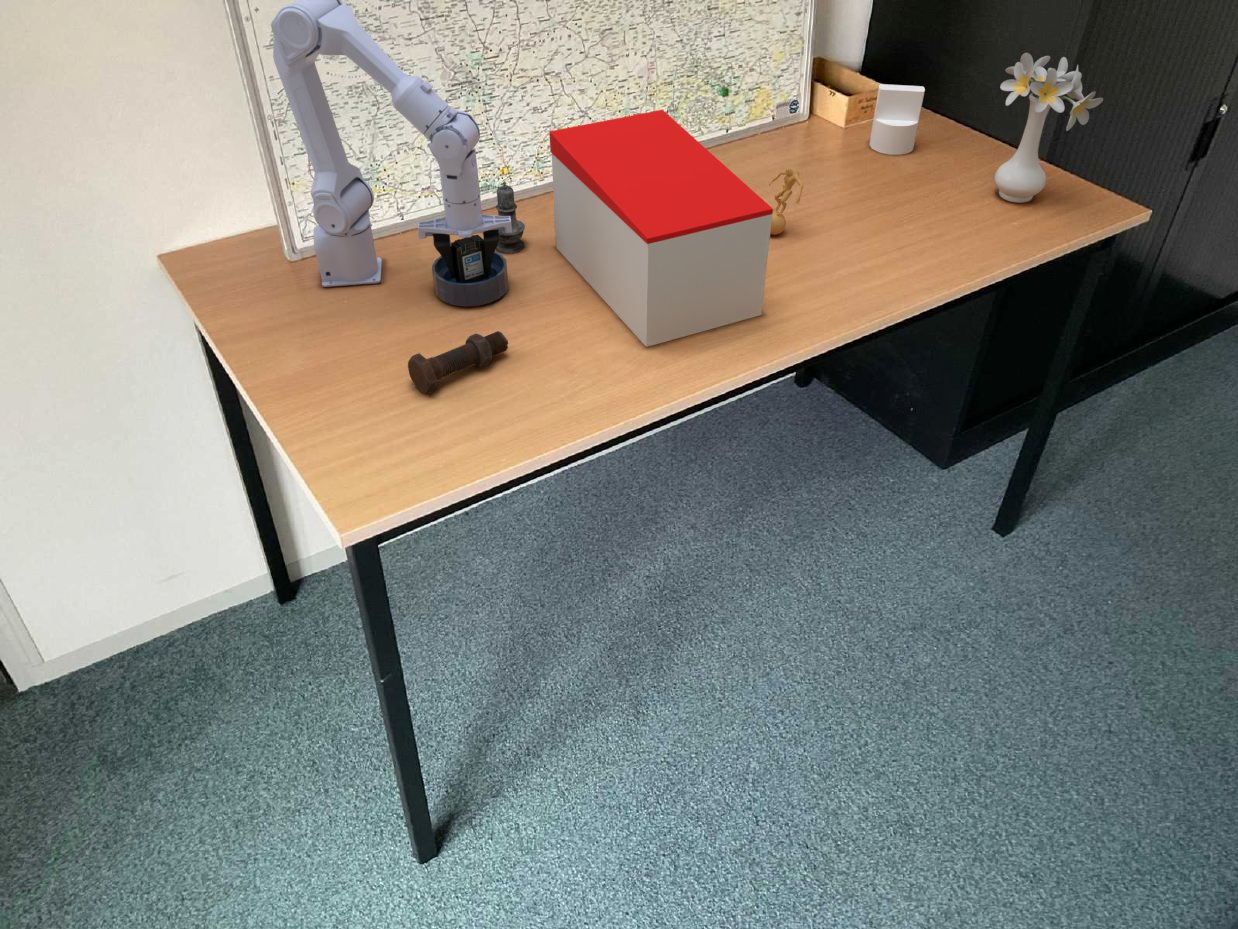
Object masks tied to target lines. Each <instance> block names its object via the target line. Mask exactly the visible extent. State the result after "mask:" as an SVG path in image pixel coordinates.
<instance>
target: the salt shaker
mask: <svg viewBox="0 0 1238 929" xmlns="http://www.w3.org/2000/svg"><path fill="white" fill-rule="evenodd" d="M496 199H497V200H496V201H497V204H496V205H495V209H496V210H497V216H510V217H511V226H512V233H505V231H499V243H498V246H497V248H496V250H495V251H497V252H500V253H503V254H504V253H505V254H513V253H517V252H520V251H522V250H523V249H524V248H525V244H526V243H525V242H524V241H523V240H522V238H523V236H524V232H525V231H524V230H526V225H525V223H524V222H523V221H522V220H518V219H517V213H516V212H517V211H516V210H517V208H518V205H517V204H516V203H515V192H514V189H513V187H512V186H511V185H508V184H507V182H506V181H503V182H502V185H501V186H499V187H498V188H497V189H496Z"/></svg>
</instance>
